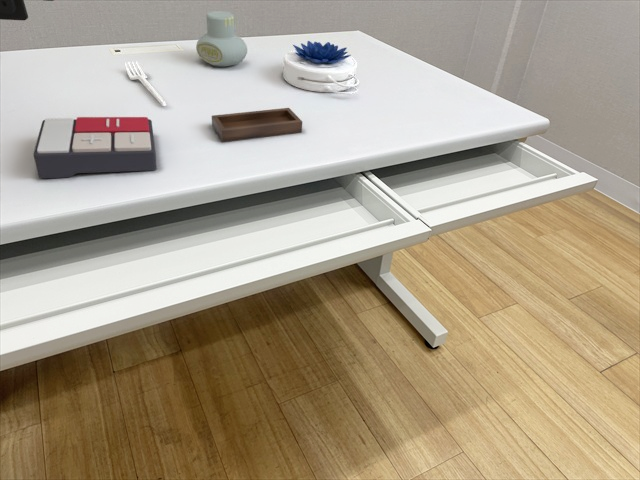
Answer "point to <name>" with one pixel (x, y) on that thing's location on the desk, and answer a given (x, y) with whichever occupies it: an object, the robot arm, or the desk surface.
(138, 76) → the fork
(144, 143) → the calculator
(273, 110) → the pen tray
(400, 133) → the desk surface
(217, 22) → the air freshener
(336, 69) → the box with blue lotus
